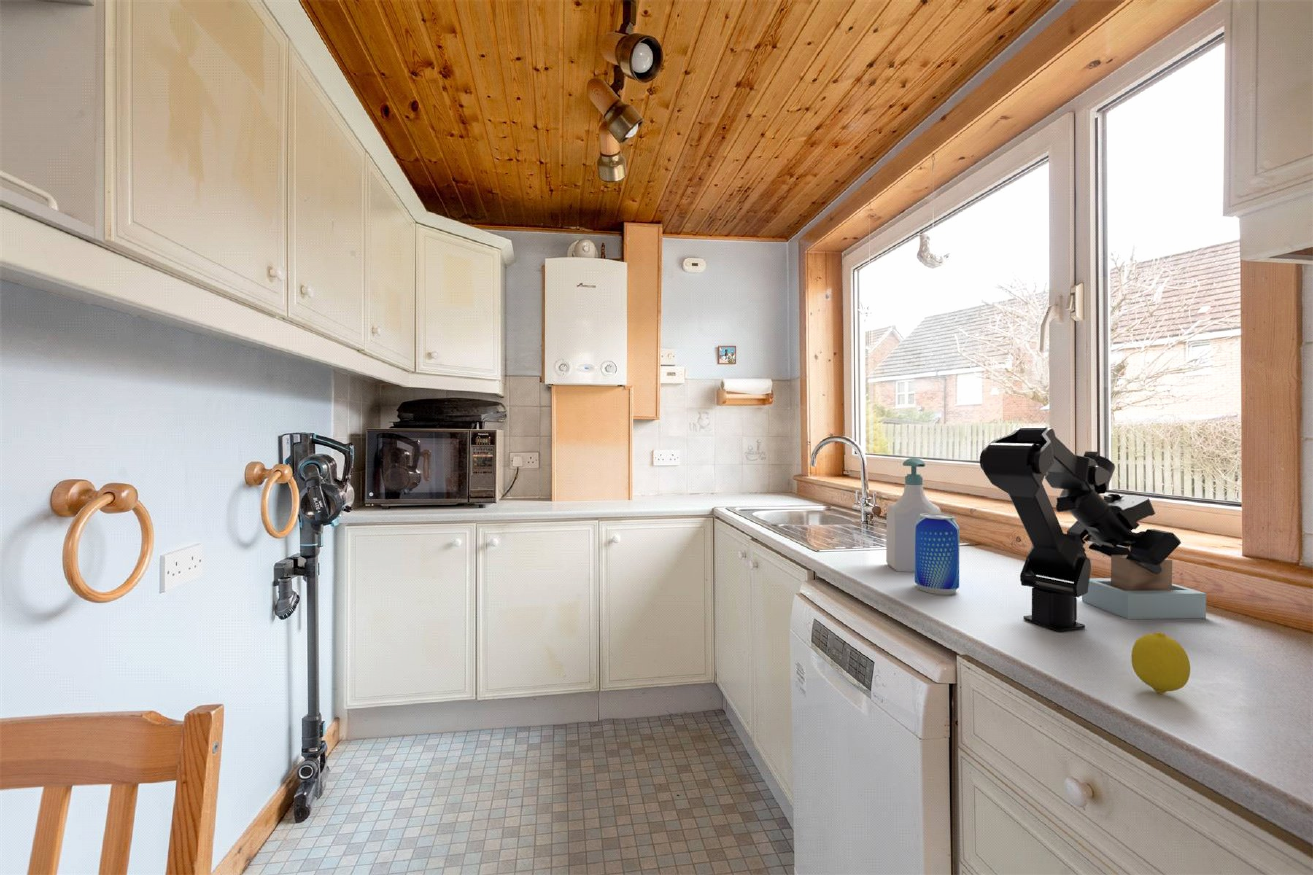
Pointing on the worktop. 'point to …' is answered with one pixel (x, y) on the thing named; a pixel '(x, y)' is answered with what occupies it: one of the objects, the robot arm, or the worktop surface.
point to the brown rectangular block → (1139, 575)
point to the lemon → (1160, 662)
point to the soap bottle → (906, 520)
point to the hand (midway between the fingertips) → (1148, 569)
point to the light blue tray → (1146, 601)
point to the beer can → (937, 553)
